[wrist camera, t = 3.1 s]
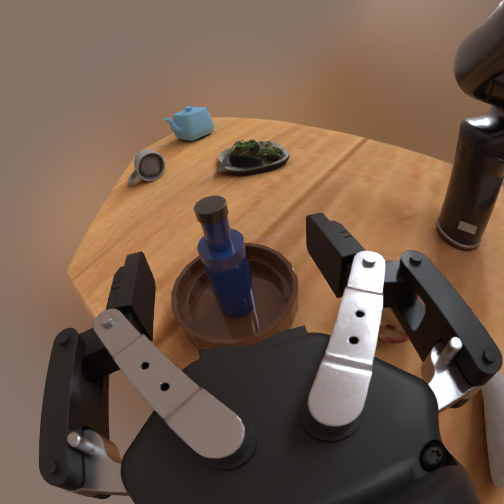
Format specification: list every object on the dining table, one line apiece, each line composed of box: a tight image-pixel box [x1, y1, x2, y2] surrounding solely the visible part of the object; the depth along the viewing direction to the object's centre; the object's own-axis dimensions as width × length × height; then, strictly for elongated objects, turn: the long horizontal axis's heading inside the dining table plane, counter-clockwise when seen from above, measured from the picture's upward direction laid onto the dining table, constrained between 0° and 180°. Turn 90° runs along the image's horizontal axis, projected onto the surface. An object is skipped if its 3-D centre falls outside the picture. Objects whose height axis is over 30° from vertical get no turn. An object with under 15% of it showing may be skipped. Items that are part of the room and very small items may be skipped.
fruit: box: [378, 296, 425, 343], centre depth 27 cm, size 8×8×8 cm
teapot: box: [163, 106, 214, 141], centre depth 84 cm, size 12×18×12 cm
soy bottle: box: [194, 196, 256, 318], centre depth 30 cm, size 5×5×15 cm
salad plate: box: [218, 140, 289, 176], centre depth 66 cm, size 19×18×5 cm
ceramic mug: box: [128, 149, 165, 186], centre depth 66 cm, size 11×8×8 cm
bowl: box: [171, 243, 298, 350], centre depth 34 cm, size 15×15×4 cm
